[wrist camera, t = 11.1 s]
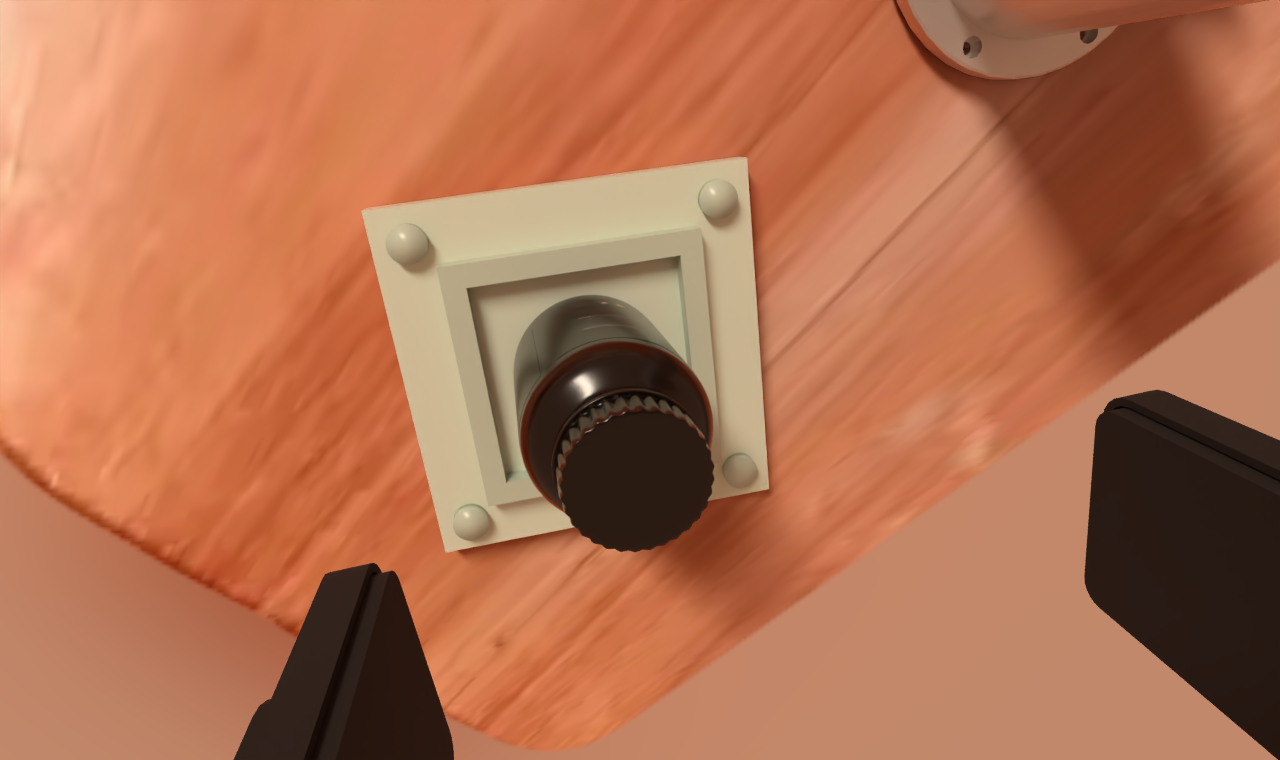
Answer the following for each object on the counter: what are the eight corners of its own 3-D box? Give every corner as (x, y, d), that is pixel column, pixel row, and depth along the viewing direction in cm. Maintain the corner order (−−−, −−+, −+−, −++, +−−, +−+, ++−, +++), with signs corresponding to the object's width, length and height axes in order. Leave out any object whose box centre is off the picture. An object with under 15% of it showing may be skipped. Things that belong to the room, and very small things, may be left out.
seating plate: (738, 156, 32) (754, 158, 30) (761, 478, 38) (776, 498, 36) (366, 208, 30) (356, 214, 28) (447, 539, 36) (444, 564, 34)
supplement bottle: (640, 448, 35) (706, 601, 24) (497, 418, 33) (494, 568, 22) (684, 310, 33) (777, 405, 22) (534, 271, 31) (553, 352, 20)
